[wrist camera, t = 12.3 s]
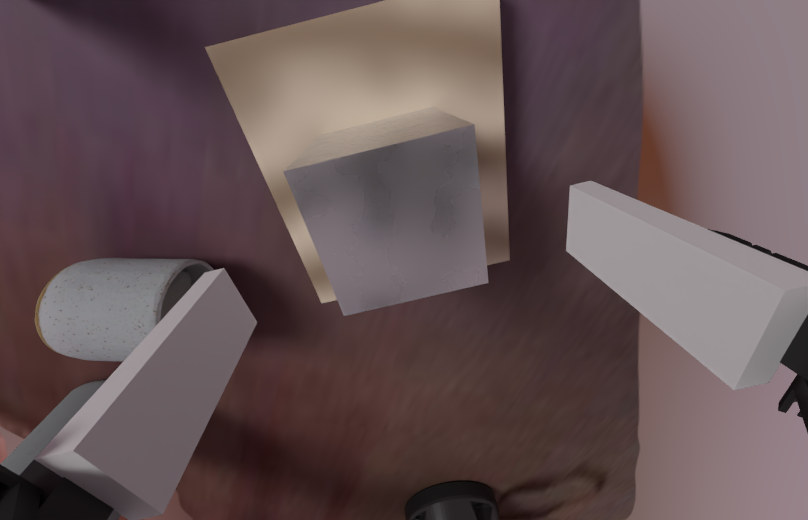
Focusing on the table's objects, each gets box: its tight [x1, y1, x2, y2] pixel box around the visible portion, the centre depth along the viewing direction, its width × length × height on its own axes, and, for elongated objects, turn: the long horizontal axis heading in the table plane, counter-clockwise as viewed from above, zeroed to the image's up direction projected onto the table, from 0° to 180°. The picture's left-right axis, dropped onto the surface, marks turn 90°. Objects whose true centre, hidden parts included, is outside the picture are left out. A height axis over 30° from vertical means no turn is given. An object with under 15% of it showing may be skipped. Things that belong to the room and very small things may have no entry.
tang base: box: [205, 0, 510, 303], centre depth 19 cm, size 18×16×8 cm
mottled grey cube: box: [283, 107, 488, 316], centre depth 17 cm, size 7×7×9 cm
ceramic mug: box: [35, 258, 213, 361], centre depth 23 cm, size 11×8×8 cm
